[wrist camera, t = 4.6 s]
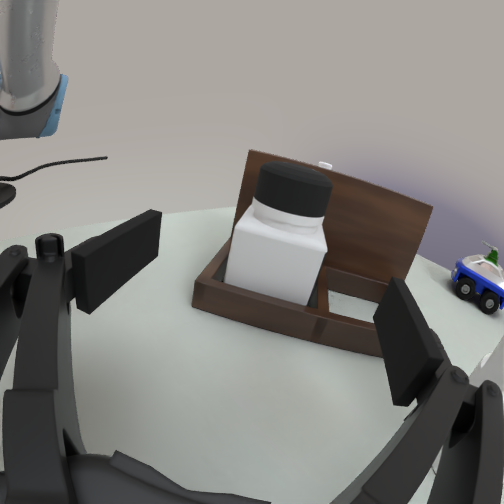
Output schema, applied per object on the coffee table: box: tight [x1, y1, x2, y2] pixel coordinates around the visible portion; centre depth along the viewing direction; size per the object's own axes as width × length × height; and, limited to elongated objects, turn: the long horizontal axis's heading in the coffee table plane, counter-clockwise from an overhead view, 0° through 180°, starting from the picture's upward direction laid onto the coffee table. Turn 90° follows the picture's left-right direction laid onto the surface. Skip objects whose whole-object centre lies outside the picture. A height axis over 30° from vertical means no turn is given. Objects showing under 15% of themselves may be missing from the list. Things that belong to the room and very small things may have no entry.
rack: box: [192, 149, 433, 357], centre depth 25 cm, size 12×20×12 cm, turn 79°
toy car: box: [451, 241, 504, 314], centre depth 36 cm, size 9×12×10 cm
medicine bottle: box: [224, 161, 333, 306], centre depth 25 cm, size 7×7×12 cm
